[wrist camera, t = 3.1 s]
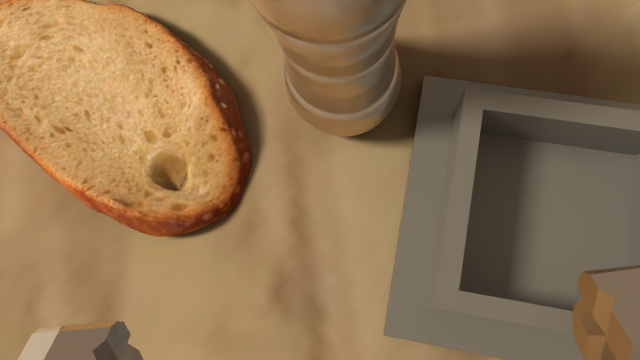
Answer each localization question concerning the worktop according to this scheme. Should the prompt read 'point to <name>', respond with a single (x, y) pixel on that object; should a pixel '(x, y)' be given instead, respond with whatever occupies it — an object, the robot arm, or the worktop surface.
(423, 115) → the holder
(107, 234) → the worktop surface
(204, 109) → the slice of bread
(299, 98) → the plastic bottle
